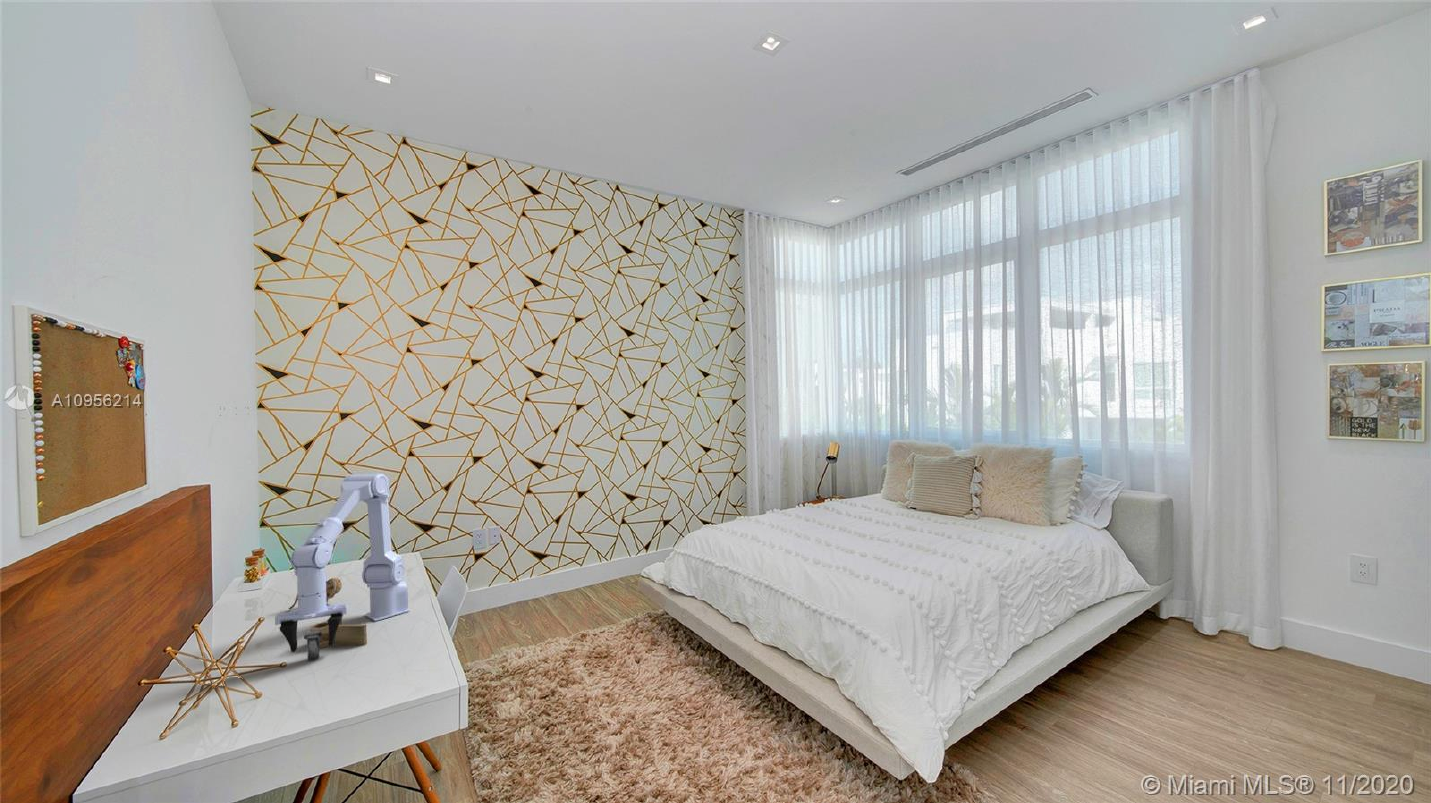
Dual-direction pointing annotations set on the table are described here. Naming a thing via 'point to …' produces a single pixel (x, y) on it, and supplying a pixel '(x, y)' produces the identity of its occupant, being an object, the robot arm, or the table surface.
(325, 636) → the leaf
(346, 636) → the tan hinge leaf
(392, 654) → the table surface
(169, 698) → the table surface
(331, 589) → the lion figurine
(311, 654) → the hinge pin
